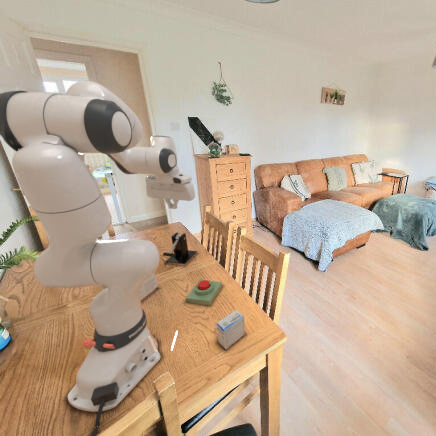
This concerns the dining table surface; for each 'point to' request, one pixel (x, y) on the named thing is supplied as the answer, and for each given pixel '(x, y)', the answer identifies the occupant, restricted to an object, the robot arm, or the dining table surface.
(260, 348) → the dining table surface
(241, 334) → the medicine box
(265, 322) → the dining table surface
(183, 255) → the lever bracket
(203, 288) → the button
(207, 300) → the button block
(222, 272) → the dining table surface
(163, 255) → the press lever
